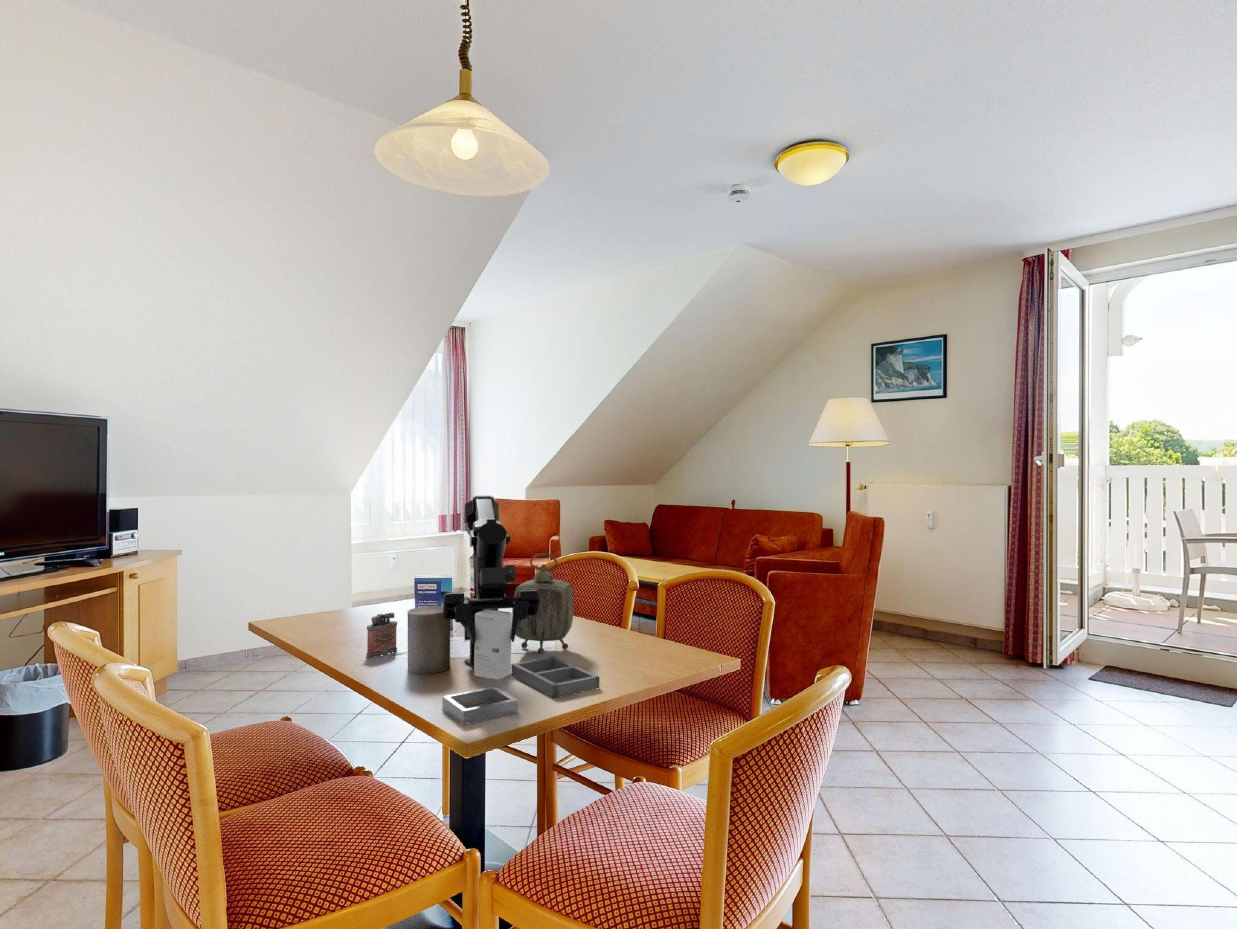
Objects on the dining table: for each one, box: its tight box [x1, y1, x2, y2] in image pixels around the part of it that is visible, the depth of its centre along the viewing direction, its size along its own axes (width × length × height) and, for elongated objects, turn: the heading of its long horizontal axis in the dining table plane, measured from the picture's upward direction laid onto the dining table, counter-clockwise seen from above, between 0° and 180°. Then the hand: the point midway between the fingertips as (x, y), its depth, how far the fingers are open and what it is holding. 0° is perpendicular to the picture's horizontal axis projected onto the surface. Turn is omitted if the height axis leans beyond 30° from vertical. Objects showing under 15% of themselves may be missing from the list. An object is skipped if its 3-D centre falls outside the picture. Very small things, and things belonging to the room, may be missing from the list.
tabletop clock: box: [511, 553, 575, 655], centre depth 174 cm, size 14×9×25 cm, turn 84°
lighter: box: [366, 612, 398, 658], centre depth 171 cm, size 8×3×10 cm, turn 143°
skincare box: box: [473, 609, 512, 680], centre depth 132 cm, size 6×4×12 cm
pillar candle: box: [407, 604, 451, 675], centre depth 158 cm, size 10×10×15 cm
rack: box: [511, 656, 600, 699], centre depth 149 cm, size 19×11×2 cm, turn 36°
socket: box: [441, 685, 519, 726], centre depth 130 cm, size 10×11×2 cm
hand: (493, 641), depth 130 cm, fingers closed on skincare box, 7 cm apart
